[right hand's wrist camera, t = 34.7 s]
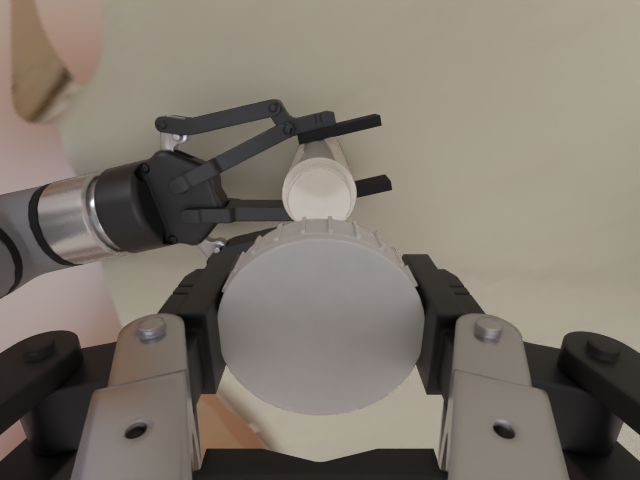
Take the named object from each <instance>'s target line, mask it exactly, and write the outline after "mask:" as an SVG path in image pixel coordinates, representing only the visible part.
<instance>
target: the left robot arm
mask: <svg viewBox="0 0 640 480" xmlns="http://www.w3.org/2000/svg"><path fill="white" fill-rule="evenodd" d="M269 117H271V118H272V120H273V121H274V123H275V124H276V126H275V127H273V128H271V129H269V130H267V131H265V132H263V133H261V134H259V135H257V136H255V137H253V138H252V139H250V140H248V141H246V142H244V143H242V144H240V145H238V146H236V147H234V148H232V149H230V150H228V151H226V152H225V153H223V154H221V155H219V156H217V157H215V158H213V159H211V160H209V161H207V162H206V161H204V160H201V159H199V158H196V157H194V156H191V155H189V154H187V153H184V152H182V151H179V150H177V148H178V145H179V144H183V143H185V142H188V141H189V139H190V135H194V134H199V133H203V132H208V131H212V130H216V129H221V128H225V127H229V126H234V125H238V124H242V123H247V122H251V121H255V120H260V119H264V118H269ZM377 126H381V119H380V115H377V114H372V115H368V116H364V117H360V118H356V119H351V120H347V121H343V122H339V123H336V121H335V116H334V112H331V111H324V112H320V113H315V114H311V115H307V116H303V117H299V118H294V117H292V116H290V115H289V113H288V112H287V110H286V109H285V107H284V106H283V103H282V102H281V101H280V100H278V99H272V100H267V101H263V102H259V103H254V104H250V105H246V106H242V107H237V108H233V109H229V110H224V111H220V112H216V113H211V114H207V115H203V116H199V117H194V118H190V117H183V116H176V115H170V116H162V117H158V118H157V119H156V120H155V127H156V128H157V130H158V131H160V132H161V150H159V151H158V152H156V153H155V154H154V155H153V156H152V157H151V158H150V159H147V160H143V161H139V162H135V163H131V164H127V165H122V166H118V167H114V168H110V169H107V170H105V171H103V172H94V173H90V174H85V175H81V176H77V177H73V178H69V179H65V180H60V181H56V182H53V183H50V184H46V185H44V186H40V187H36V188H31V189H26V190H21V191H17V192H12V193H7V194H3V195H0V299H1V298H2V297H4V296H6V295H8V294H10V293H11V292H13V291H15V290H16V289H18V288H19V287H21V286H22V285H24V284H25V283H27V282H29V281H30V280H32V279H33V278H35V277H37V276H39V275H42V274H45V273H48V272H52V271H56V270H60V269H64V268H69V267H73V266H78V265H83V264H87V263H92V262H96V261H101V260H106V259H111V258H115V257H120V256H125V255H127V254H129V253H138V252H142V251H147V250H151V249H156V248H160V247H165V246H170V245H174V244H178V243H184V244H188V245H197V246H198V247H199V248H200V249H201V250H202V251H203V253H204V254H205V255H206V256H207V257H208V260H207V264H208V263H209V261H210V260H211V258H212V257H213V256H214V254H239V256H240V255H241V253H242V252H245V253H246V252H247V251H248V250H249V248H250V247H251V246H253V245H254V243H255V241H256V239H257V237H258V236H259V235H260V236H261V237H263V236H265V235H266V234H268V233H269V232H271V231H273V230H275V229H277V227H274V228H270V229H266V230H262V231H257V232H253V233H249V234H244V235H240V236H237V237H233V238H231V239H229V240H227V241H226V239H225V238H217V239H213V238H210V237H209V236H208V235H209V234H210V233H211V231H212V230H213V229H214V228H215V227H216V225H217V224H218V223H232V222H235V221H294V220H293V219H292V218H291V217H290V216H289V215H288V213H287V212H286V210H285V207H284V204H283V200H240V199H228V198H227V195H226V194H225V192H224V190H223V189H222V187H221V177H220V173H221V172H223V171H225V170H227V169H229V168H231V167H233V166H235V165H237V164H239V163H241V162H243V161H245V160H247V159H248V158H250V157H252V156H254V155H256V154H258V153H260V152H262V151H264V150H266V149H268V148H270V147H272V146H274V145H276V144H278V143H280V142H282V141H284V140H286V139H288V138H291V137H292V136H295V135H297V136H298V140H299V144H300V145H301V144H305V143H310V142H314V141H318V140H322V139H326V138H331V137H335V136H339V135H343V134H348V133H352V132H356V131H360V130H364V129H369V128H373V127H377ZM354 182H355V184H356V190H357V198H358V197H362V196H367V195H371V194H376V193H380V192H385V191H389V190H392V186H391V181H390V180H389V178H388V177H387V176H386V175H380V176H376V177H372V178H367V179H363V180H358V181H354ZM283 226H284V225H283Z"/></svg>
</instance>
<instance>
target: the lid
mask: <svg viewBox="0 0 640 480" xmlns="http://www.w3.org/2000/svg"><path fill="white" fill-rule="evenodd" d="M404 265H405V264H404V262H403V260H402V258H401V256H400V254H399V252H398V251H397V249H396V248H395V247H393V248H391V247H390V246H389V245H388V244H387V243H386V242H385V241H384V240H382V239H381V236H380V234H379V233H378V232H377V231H376V232H375V233H372V232H371V231H369V230H367V229H365V228H363V227H360V226H358V223H357V222H356V221H353V223H349V222H345V221H341V220H334V219H332V216H328V219H307V218H306V217H302V220H301V221H297V222H292V223H289V224H286V225H284V226H283V225H282V223H281V224H278V226H277V229H275V230H273V231H271V232H269V233H268V234H266V235H265V236H263V237H261V236H260V235H259V236H258V237H257V239H256V241H255V243H254V245H253V246H251V247H250V248H249V250H248V251H247V252H246V253H245V252H242V253H241V255H240V257H239V259H238V261H237V263H236V265H235V267H234V269H233V271H231V273H230V275H229V277H228V279H227V281H226V283H225V285H224V287H223V289H222V292H223V293H224V294H223V297H222V299H221V302H220V304H219V309H218V314H217V317H218V327H219V335H220V344H221V352H222V356H223V359H224V361H225V363H226V365H227V366H228V368H229V370H230V371H231V373H232V374H233V375H234V377H235V378H236V379H237V380H238V381H239V382H240V383H241V384H242V385H243V386H244V387H245V388H246V389H247V390H248V391H250V392H251V393H252V394H254V395H255V396H256V397H258V398H260V399H261V400H263V401H265V402H267V403H269V404H271V405H273V406H275V407H278V408H281V409H284V410H287V411H291V412H295V413H300V414H308V415H334V414H341V413H347V412H351V411H354V410H358V409H361V408H364V407H366V406H369V405H371V404H373V403H375V402H377V401H379V400H380V399H382V398H384V397H385V396H387V395H388V394H390V393H391V392H392V391H394V390H395V389H396V388H397V387H398V386H399V385H400V384H401V383H402V382H403V381H404V380H405V379H406V378H407V376H408V375H409V374H410V372H411V371H412V369H413V368H414V366H415V365H416V363H417V361H418V358H419V356H420V353H421V346H422V338H423V330H424V321H425V314H424V308H423V305H422V302H421V299H420V296H419V294H418V292H417V290H416V288H415V287H416V286H418V285H417V283H416V281H415V279H414V277H413V275H412V273H411V271H410V269H409V267H408V265H406V266H404Z"/></svg>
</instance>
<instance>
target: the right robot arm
mask: <svg viewBox="0 0 640 480" xmlns="http://www.w3.org/2000/svg"><path fill="white" fill-rule="evenodd" d="M239 257H240V256H239V254H214V256H213V257H212V258H211V260H210V261H209V263H208V264H207V266H206V267H205V269H197V270H195V271H193V272H192V273H190V274H188V275H187V276H185V277H184V279H183V280H182V281H181V282H180V284H179V285H178V287H177V288H176V289H175V290H174V292H173V295H171V296H170V297H169V298H168V300H167V301H166V302H165V304H164V305H163V306H162V308H161V309H160V310H159V312H158V313H157V314H153V315H148V316H145V317H142V318H139V319H137V320H135V321H133V322H131V323H129V324H128V325H126V326H125V327H124V328H123V329H122V330H121V331H120V333H119V335H118V339H117V342H113V343H108V344H103V345H98V346H93V347H87V348H82V349H81V346H80V343H79V339H78V336H77V335H76V334H75V333H73V332H70V331H50V332H45V333H41V334H38V335H34V336H31V337H29V338H26V339H24V340H22V341H20V342H18V343H16V344H15V345H13V346H11V347H10V348H8V349H6V350H5V351H3V352H2V353H0V435H1V434H2V433H3V432H4V431H6V430H7V429H8V428H9V427H11V426H12V425H13V424H14V423H15V422H17V421H18V420H19V419H20V421H21V424H22V426H23V429H24V432H25V434H26V437H27V438H26V439H25V440H24V441H23V442H22V443H21V444H19V445H18V446H17V447H16V448H15V449H14V450H13V451H11V452H10V453H9V454H8V455H7V456H6V457H5V458H4V459H2V460H1V461H0V480H640V461H639V460H638V459H636V458H635V457H634V456H633V455H632V454H631V453H630V452H629V451H627V450H626V449H625V448H624V447H623V446H622V445H621V444H620V443H618V442H617V441H616V440H617V438H618V435H619V432H620V430H621V427H622V425H623V422H625V423H626V424H627V425H628V426H629V427H631V428H632V429H633V430H634V431H636V432H637V433H638V434H639V435H640V353H638V352H637V351H635V350H634V349H632V348H630V347H629V346H627V345H625V344H624V343H622V342H620V341H617V340H615V339H613V338H610V337H607V336H604V335H601V334H597V333H592V332H581V331H578V332H571V333H569V334H567V335H565V336H564V338H563V342H562V345H561V349H558V348H553V347H548V346H542V345H537V344H532V343H528V342H524V341H523V339H522V335H521V333H520V331H519V330H518V329H517V328H516V327H515V326H514V325H512V324H511V323H509V322H507V321H505V320H503V319H501V318H498V317H495V316H492V315H487V314H485V313H484V311H483V310H482V309H481V307H480V306H479V305H478V303H477V302H476V301H475V300H474V298H473V297H472V296H471V295H470V293H469V292H468V290H467V289H466V288H464V285H463V284H462V282H461V281H460V280H459V279H458V277H457V276H455V275H453V274H452V273H450V272H448V271H447V270H445V269H437V267H436V266H435V264H434V263H433V262H432V260H431V259H430V257H429V256H428V255H427V254H403V256H402V260H403V262H404V264H405V265H404V266H406V265H408V267H409V269H410V271H411V273H412V275H413V277H414V279H415V281H416V283H417V285H418V286H416V287H415V288H416V290H417V292H418V294H419V296H420V299H421V302H422V305H423V308H424V314H425V321H424V330H423V338H422V346H421V353H420V356H419V358H418V361H417V363H416V366H417V369H418V371H419V374H420V377H421V380H422V383H423V385H424V388H425V391H426V394H427V395H442V396H443V399H444V403H443V410H442V418H441V428H440V439H439V449H438V460H437V458H436V455H435V452H434V449H375V450H371V451H367V452H363V453H358V454H354V455H350V456H346V457H342V458H338V459H334V460H330V461H326V462H314V461H310V460H306V459H302V458H298V457H294V456H290V455H286V454H282V453H277V452H273V451H269V450H265V449H206V452H205V455H204V458H203V460H202V449H201V439H200V428H199V418H198V410H197V403H198V400H199V398H200V395H201V394H216V392H217V389H218V386H219V383H220V380H221V378H222V375H223V372H224V369H225V366H226V363H225V361H224V359H223V356H222V352H221V344H220V335H219V327H218V317H217V314H218V309H219V304H220V302H221V299H222V297H223V294H224V293H223V292H222V289H223V287H224V285H225V283H226V281H227V279H228V277H229V275H230V273H231V271H233V269H234V267H235V265H236V263H237V261H238V259H239Z"/></svg>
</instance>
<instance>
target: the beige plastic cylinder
mask: <svg viewBox="0 0 640 480" xmlns="http://www.w3.org/2000/svg"><path fill="white" fill-rule="evenodd" d="M356 199H357V190H356V184H355V182H354V179H353V176H352V174H351V171H350V169H349V167H348V164H347V162H346V159H345V157H344V154H343V152H342V149H341V147H340V144H339V143H338V141H337V140H336V139H335V138H334V137H331V138H326V139H322V140H318V141H314V142H310V143H305V144H301V145H299V147H298V149H297V152H296V154H295V157H294V159H293V161H292V164H291V166H290V169H289V171H288V173H287V176H286V178H285V181H284V183H283V187H282V200H283V204H284V207H285V210H286V212H287V213H288V215H289V216H290V217H291V218H292V219H293V220H294V221H295V222H297V221H301V220H302V217H306V218H307V219H328V216H332V219H334V220H341V221H345V220H346V219H347V218H348V217H349V216H350V214H351V213H352V211H353V209H354V206H355V204H356Z"/></svg>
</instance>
